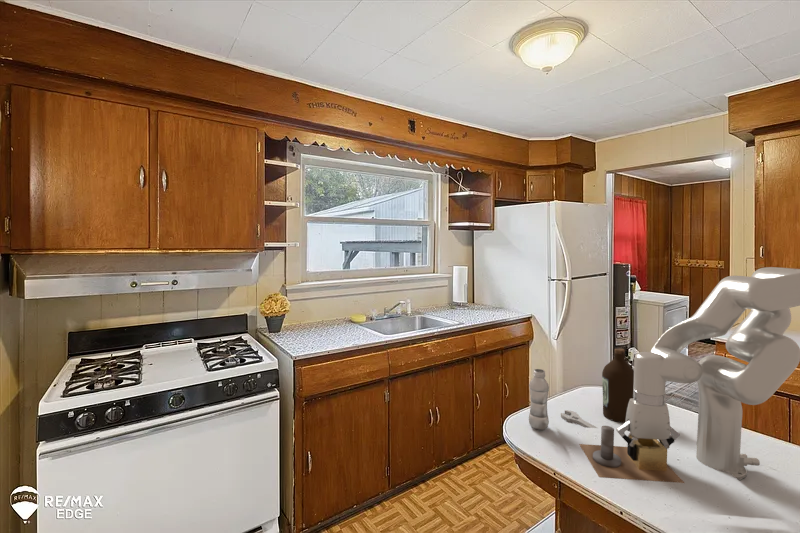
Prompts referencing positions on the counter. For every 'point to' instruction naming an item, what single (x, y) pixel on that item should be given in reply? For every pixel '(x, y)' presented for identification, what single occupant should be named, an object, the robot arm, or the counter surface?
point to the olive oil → (617, 387)
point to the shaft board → (621, 461)
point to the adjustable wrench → (575, 419)
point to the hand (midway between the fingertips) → (646, 458)
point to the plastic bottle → (538, 401)
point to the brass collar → (650, 455)
